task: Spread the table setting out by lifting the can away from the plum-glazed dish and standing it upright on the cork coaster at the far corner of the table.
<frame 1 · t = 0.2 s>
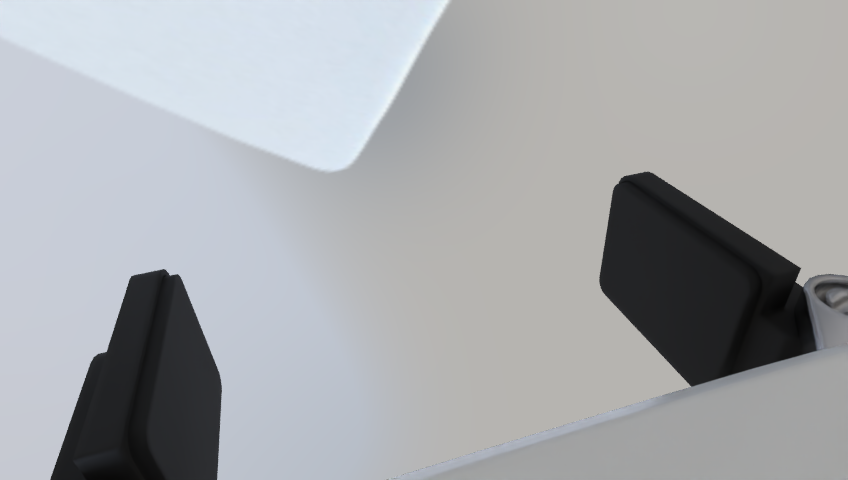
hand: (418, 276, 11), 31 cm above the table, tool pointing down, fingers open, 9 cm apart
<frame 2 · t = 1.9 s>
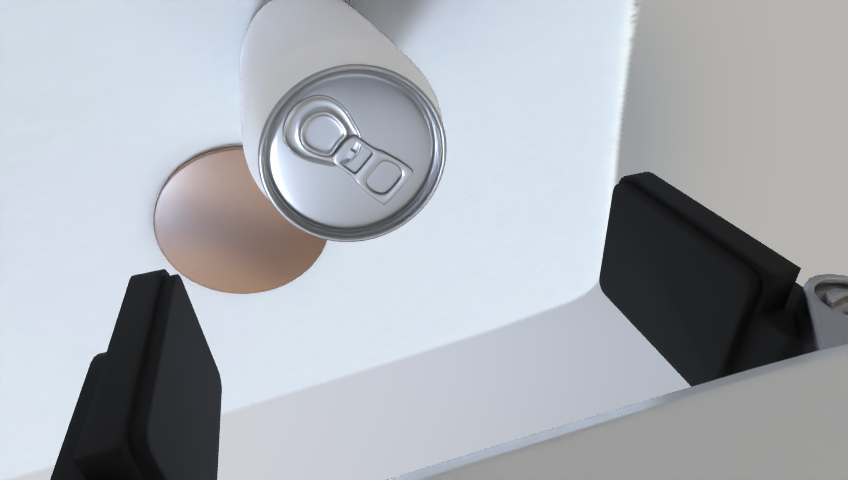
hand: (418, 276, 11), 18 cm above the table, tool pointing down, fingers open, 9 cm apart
coaster: (246, 223, 28), on the table
can: (310, 61, 25), on the table
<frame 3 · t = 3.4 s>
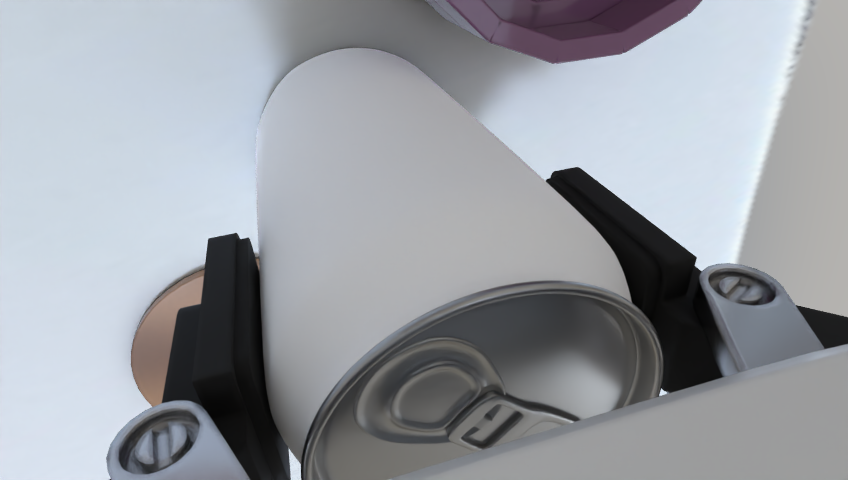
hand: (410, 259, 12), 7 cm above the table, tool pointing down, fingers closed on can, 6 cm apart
coaster: (259, 352, 21), on the table
can: (355, 142, 18), on the table, touching gripper
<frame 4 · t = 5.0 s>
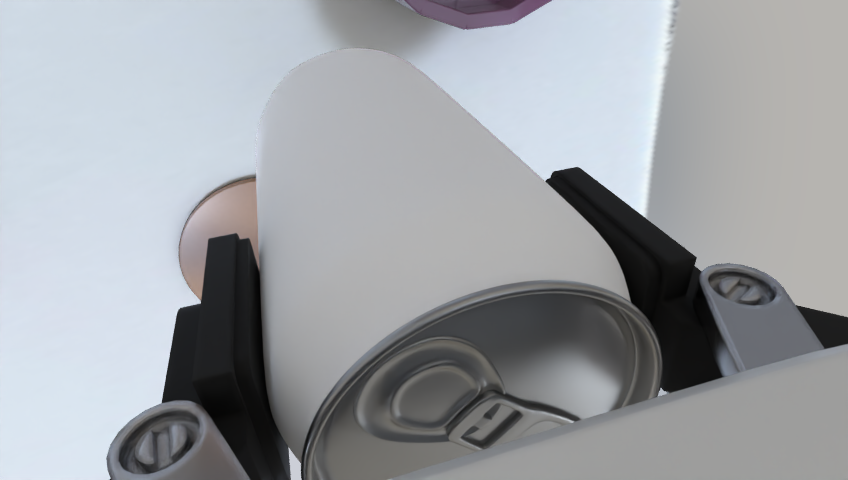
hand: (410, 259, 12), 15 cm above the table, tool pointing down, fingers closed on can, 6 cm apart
coaster: (271, 253, 28), on the table
can: (355, 142, 18), point 8 cm above the table, touching gripper
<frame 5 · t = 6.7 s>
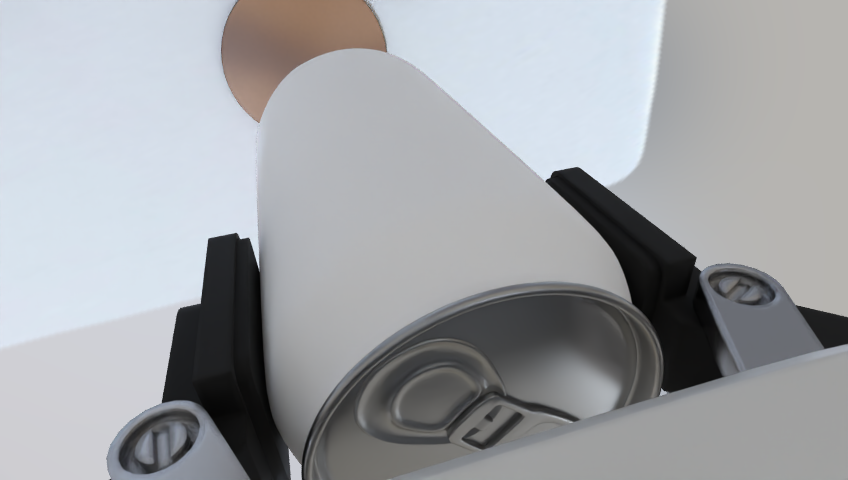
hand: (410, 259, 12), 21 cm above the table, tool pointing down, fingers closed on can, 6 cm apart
coaster: (307, 60, 29), on the table
can: (355, 143, 18), point 14 cm above the table, touching gripper
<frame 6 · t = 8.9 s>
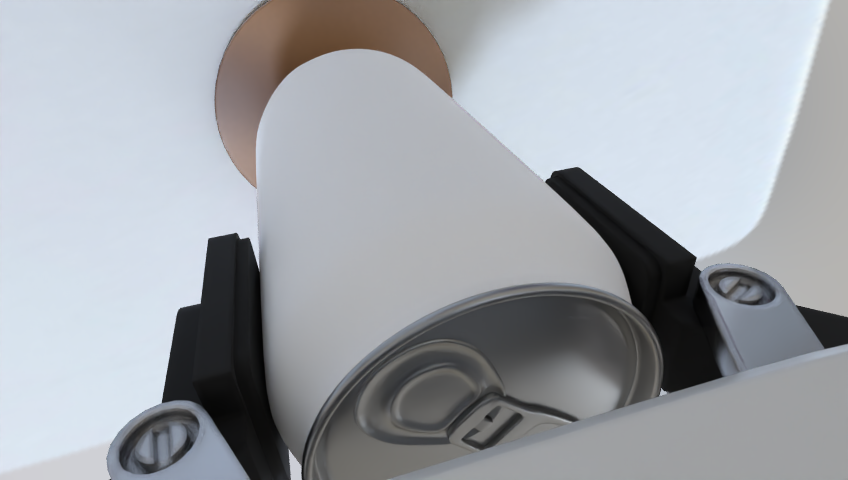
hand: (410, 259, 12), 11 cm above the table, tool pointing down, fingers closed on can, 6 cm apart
coaster: (339, 110, 20), on the table
can: (355, 143, 18), point 3 cm above the table, touching gripper
when the fingers open (8 cm above the table, at t = 10.3 s): can stays where it is, resting on coaster.
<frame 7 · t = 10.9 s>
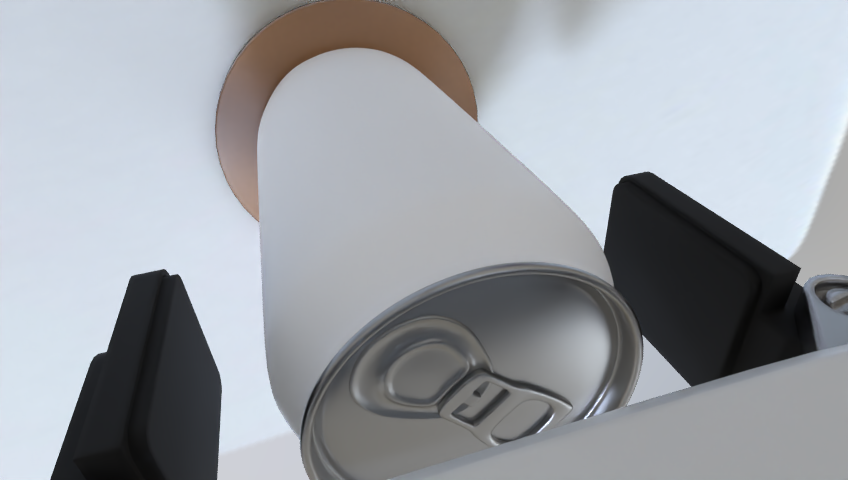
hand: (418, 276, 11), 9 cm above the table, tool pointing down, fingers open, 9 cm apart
coaster: (353, 138, 18), on the table
can: (354, 140, 18), resting on coaster
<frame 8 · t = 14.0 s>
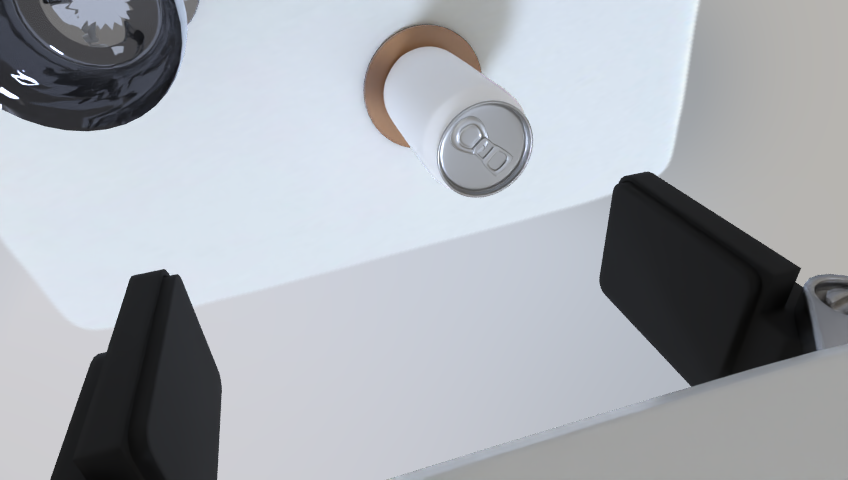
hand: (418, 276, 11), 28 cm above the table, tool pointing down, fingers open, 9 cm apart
coaster: (423, 89, 38), on the table
can: (424, 90, 38), resting on coaster
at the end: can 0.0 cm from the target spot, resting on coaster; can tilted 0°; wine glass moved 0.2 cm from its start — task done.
